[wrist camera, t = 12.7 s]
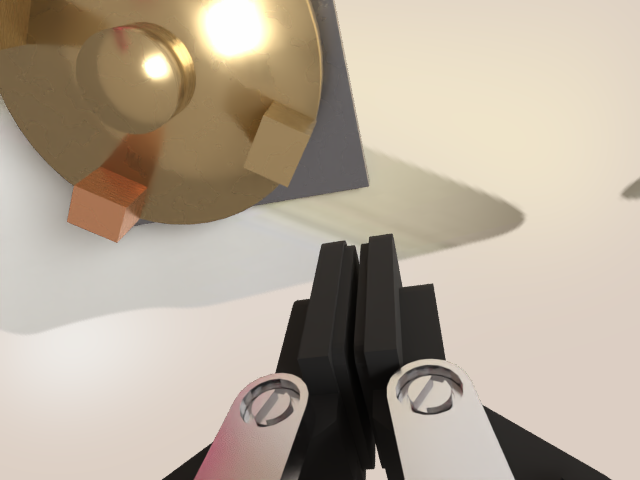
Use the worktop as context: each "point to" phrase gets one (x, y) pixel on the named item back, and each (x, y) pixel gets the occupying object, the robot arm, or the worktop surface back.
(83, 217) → the brass lugged disc
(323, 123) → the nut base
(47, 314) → the worktop surface
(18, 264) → the worktop surface
